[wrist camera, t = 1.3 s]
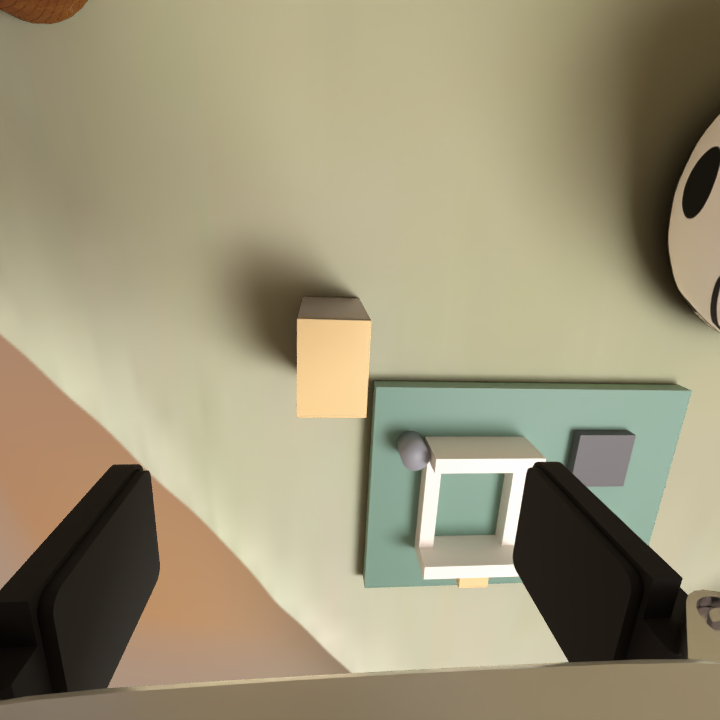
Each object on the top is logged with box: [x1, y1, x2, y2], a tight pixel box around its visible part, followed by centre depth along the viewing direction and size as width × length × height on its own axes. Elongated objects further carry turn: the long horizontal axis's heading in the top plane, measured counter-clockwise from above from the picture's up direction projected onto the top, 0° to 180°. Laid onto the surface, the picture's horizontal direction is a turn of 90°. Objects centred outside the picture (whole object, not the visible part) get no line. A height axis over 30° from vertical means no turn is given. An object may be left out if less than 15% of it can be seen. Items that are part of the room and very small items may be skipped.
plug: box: [297, 296, 371, 418], centre depth 25 cm, size 6×4×7 cm, turn 178°
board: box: [363, 381, 692, 588], centre depth 30 cm, size 16×22×4 cm
